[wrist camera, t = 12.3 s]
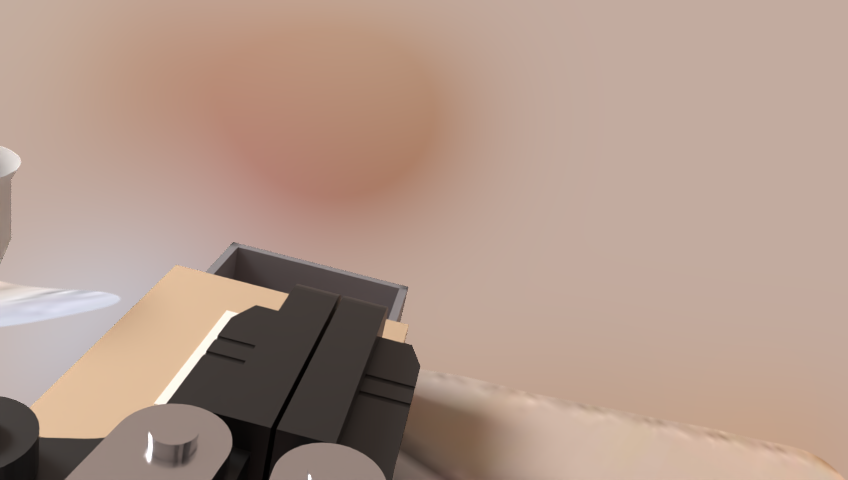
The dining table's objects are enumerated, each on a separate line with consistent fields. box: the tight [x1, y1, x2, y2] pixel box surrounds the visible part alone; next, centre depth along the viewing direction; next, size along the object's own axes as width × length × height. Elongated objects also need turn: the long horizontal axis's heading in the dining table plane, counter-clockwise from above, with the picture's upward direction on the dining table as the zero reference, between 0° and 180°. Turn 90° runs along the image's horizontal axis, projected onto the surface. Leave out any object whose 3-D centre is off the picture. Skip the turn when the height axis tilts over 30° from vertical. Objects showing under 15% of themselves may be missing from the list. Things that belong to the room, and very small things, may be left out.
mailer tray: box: [206, 242, 408, 322], centre depth 50 cm, size 26×14×8 cm, turn 172°
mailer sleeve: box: [30, 265, 409, 439], centre depth 46 cm, size 18×16×11 cm
